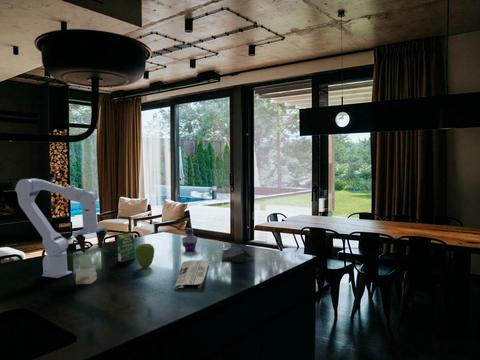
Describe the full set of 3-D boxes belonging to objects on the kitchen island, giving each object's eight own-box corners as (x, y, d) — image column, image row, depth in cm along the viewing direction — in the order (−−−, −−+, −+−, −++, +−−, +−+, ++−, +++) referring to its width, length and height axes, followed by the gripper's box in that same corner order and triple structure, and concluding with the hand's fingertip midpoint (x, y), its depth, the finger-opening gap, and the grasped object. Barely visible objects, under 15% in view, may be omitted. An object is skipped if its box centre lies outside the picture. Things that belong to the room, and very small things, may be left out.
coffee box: (120, 262, 176) (119, 235, 175) (117, 261, 178) (116, 235, 177) (135, 259, 182) (134, 233, 181) (132, 258, 184) (131, 232, 183)
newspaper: (182, 265, 170) (182, 258, 170) (209, 264, 171) (208, 256, 171) (173, 292, 135) (173, 283, 135) (207, 290, 136) (207, 281, 136)
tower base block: (76, 284, 146) (75, 277, 146) (82, 279, 152) (82, 272, 152) (90, 284, 146) (90, 276, 146) (96, 279, 152) (96, 272, 152)
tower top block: (76, 276, 147) (76, 269, 146) (82, 272, 152) (81, 265, 152) (90, 276, 147) (89, 269, 147) (95, 272, 152) (95, 265, 152)
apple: (149, 270, 161) (148, 245, 161) (132, 270, 163) (131, 244, 162) (158, 265, 170) (157, 240, 169) (141, 264, 172) (140, 240, 171)
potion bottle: (178, 250, 197) (178, 228, 196) (192, 247, 203) (191, 226, 202) (187, 253, 190) (187, 230, 190) (201, 250, 196) (200, 228, 196)
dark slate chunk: (251, 251, 193) (250, 242, 193) (253, 262, 171) (253, 252, 171) (222, 252, 193) (221, 243, 193) (220, 263, 171) (220, 253, 171)
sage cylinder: (77, 268, 148) (77, 256, 148) (86, 265, 152) (86, 253, 152) (84, 269, 146) (84, 257, 146) (93, 266, 150) (93, 254, 150)
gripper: (77, 222, 151) (79, 254, 151) (109, 217, 162) (111, 247, 162) (69, 221, 155) (72, 252, 156) (102, 216, 166) (104, 245, 167)
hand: (91, 249), depth 160 cm, fingers open, 7 cm apart
